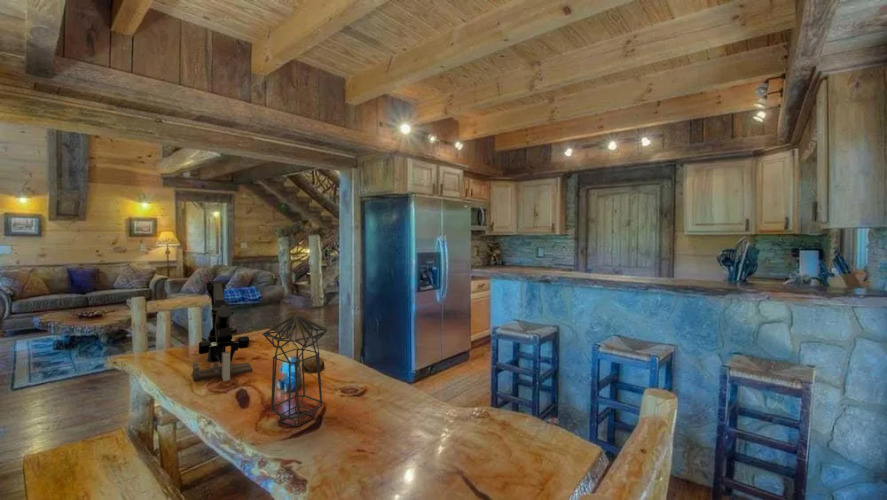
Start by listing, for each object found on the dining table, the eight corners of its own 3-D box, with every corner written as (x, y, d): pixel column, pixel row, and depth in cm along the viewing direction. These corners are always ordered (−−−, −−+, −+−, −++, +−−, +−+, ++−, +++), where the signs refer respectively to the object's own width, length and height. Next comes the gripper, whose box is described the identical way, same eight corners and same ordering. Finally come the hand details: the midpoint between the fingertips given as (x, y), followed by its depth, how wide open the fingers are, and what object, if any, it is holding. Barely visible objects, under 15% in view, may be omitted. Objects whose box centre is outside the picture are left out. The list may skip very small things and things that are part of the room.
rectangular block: (221, 378, 165) (221, 352, 164) (230, 376, 167) (230, 351, 166) (223, 381, 161) (223, 355, 160) (232, 380, 163) (232, 354, 162)
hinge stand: (192, 373, 170) (192, 362, 170) (248, 364, 183) (248, 353, 182) (194, 381, 161) (194, 369, 161) (252, 371, 174) (252, 360, 173)
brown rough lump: (299, 378, 176) (294, 364, 172) (312, 362, 185) (307, 349, 181) (318, 380, 173) (313, 367, 169) (330, 364, 182) (325, 351, 178)
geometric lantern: (331, 416, 131) (331, 313, 129) (292, 437, 118) (291, 323, 115) (300, 405, 139) (299, 308, 137) (259, 423, 125) (258, 316, 123)
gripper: (198, 322, 160) (200, 356, 152) (248, 317, 171) (253, 348, 163) (197, 337, 167) (199, 370, 158) (245, 331, 178) (249, 362, 169)
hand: (226, 362), depth 162 cm, fingers open, 3 cm apart
